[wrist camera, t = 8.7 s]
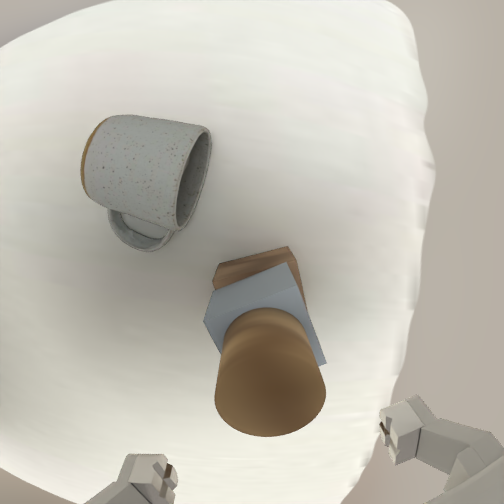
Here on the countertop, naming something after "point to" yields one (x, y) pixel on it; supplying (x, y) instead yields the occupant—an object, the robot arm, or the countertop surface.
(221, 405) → the oak cylinder
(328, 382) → the countertop surface
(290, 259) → the walnut base block
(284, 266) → the slate upper block
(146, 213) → the ceramic mug
